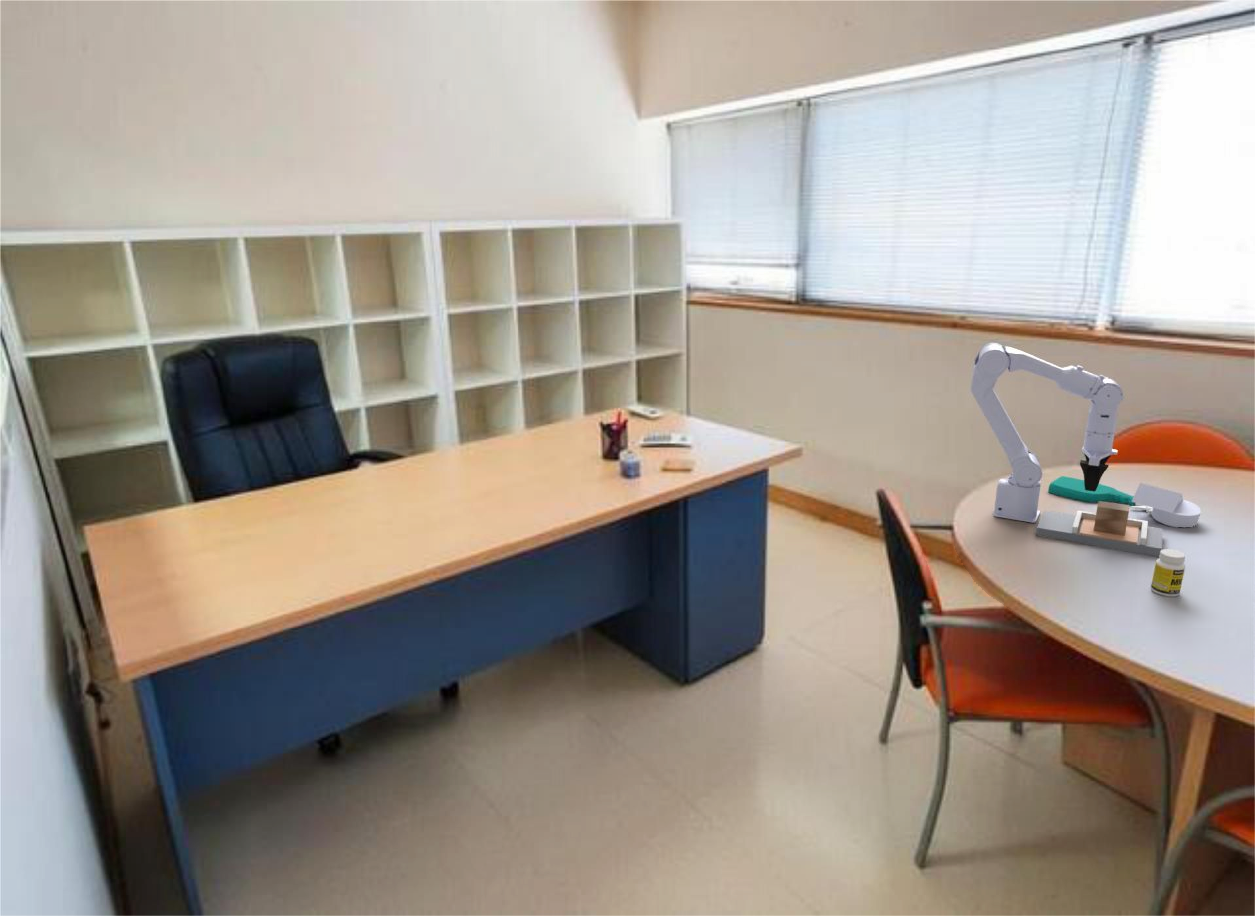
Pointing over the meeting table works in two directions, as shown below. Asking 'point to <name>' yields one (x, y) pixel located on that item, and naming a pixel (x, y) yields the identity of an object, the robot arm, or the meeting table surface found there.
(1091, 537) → the frame
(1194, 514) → the wedge on round base
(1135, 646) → the meeting table surface
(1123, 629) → the meeting table surface
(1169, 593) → the supplement bottle
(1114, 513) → the brown rectangular block
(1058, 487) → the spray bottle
